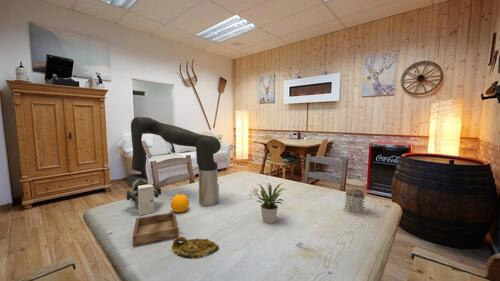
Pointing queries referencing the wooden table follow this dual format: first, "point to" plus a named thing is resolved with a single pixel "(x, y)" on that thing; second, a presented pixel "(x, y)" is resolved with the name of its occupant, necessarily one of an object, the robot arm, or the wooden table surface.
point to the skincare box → (145, 199)
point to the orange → (179, 203)
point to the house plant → (269, 203)
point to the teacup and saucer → (255, 191)
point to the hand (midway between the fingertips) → (146, 197)
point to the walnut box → (155, 229)
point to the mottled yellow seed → (193, 247)
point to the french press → (355, 198)
